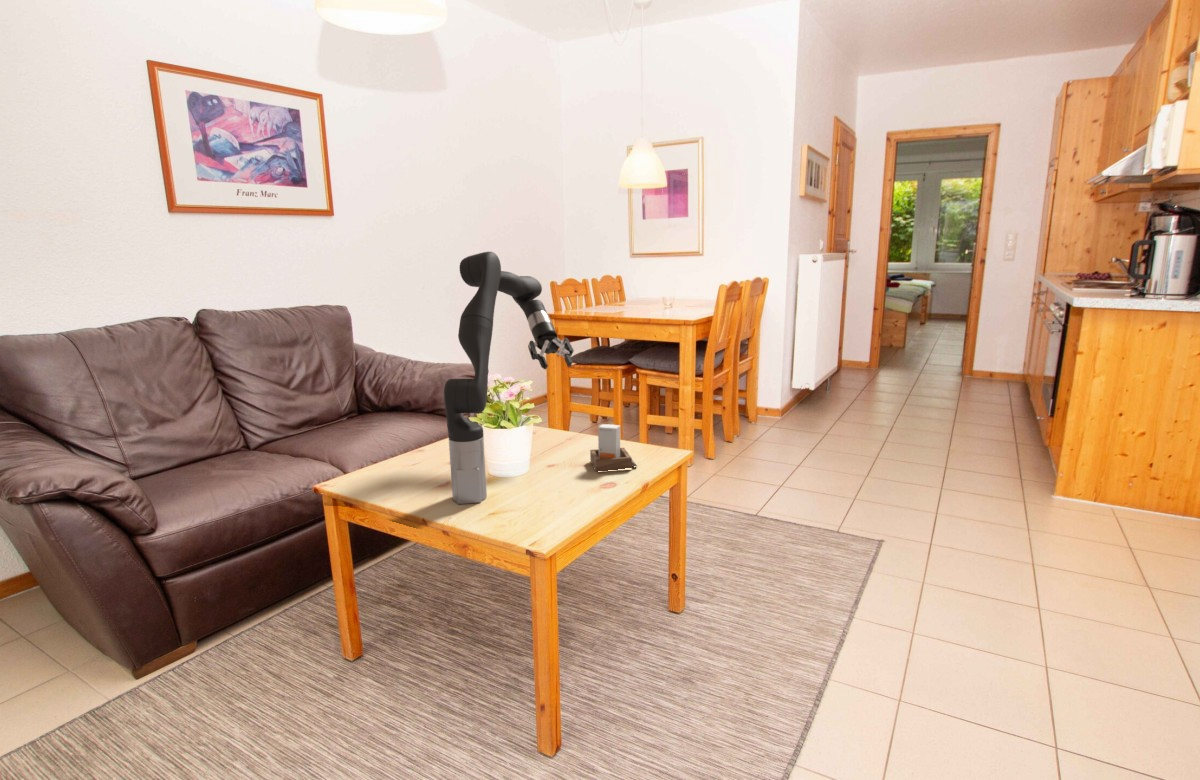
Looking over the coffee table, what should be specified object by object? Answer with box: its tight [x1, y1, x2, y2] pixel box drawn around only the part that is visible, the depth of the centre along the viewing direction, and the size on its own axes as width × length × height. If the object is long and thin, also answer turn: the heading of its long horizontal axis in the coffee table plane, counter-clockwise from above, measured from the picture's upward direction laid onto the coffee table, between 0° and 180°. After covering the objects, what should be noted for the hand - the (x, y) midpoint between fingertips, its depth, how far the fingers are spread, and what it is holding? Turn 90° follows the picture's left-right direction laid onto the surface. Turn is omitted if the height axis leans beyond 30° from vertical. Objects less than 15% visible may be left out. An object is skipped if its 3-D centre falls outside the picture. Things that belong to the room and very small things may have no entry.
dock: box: [589, 447, 638, 473], centre depth 198 cm, size 11×13×4 cm
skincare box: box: [597, 423, 621, 459], centre depth 196 cm, size 6×4×12 cm
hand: (558, 366), depth 201 cm, fingers open, 8 cm apart
